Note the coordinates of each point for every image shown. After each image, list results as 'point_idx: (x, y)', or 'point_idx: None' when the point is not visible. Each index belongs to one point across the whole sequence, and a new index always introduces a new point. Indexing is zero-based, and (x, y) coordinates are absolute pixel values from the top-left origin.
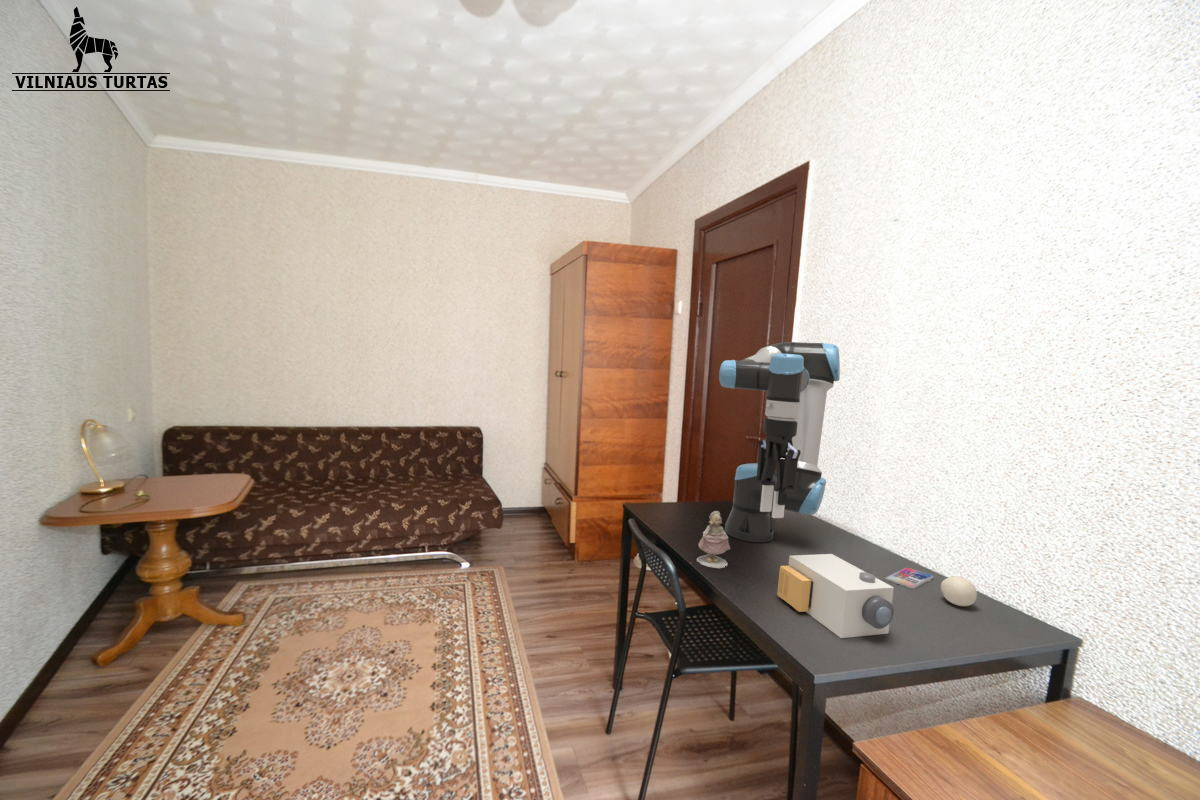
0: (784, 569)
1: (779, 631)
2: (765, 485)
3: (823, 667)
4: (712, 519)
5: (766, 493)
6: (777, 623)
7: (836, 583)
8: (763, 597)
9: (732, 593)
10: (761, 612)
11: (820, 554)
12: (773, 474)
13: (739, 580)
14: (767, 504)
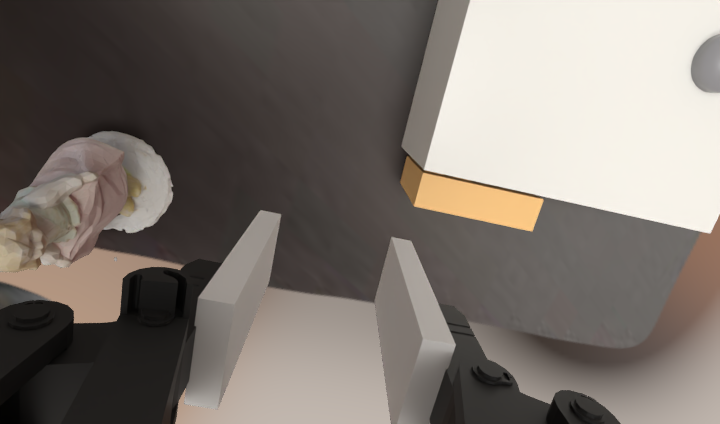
0: (438, 211)
1: (516, 304)
2: (208, 388)
3: (642, 323)
4: (16, 271)
5: (242, 328)
6: (491, 282)
7: (665, 217)
8: (380, 213)
9: (331, 277)
10: (438, 279)
11: (471, 6)
12: (165, 411)
13: (269, 199)
14: (266, 267)
